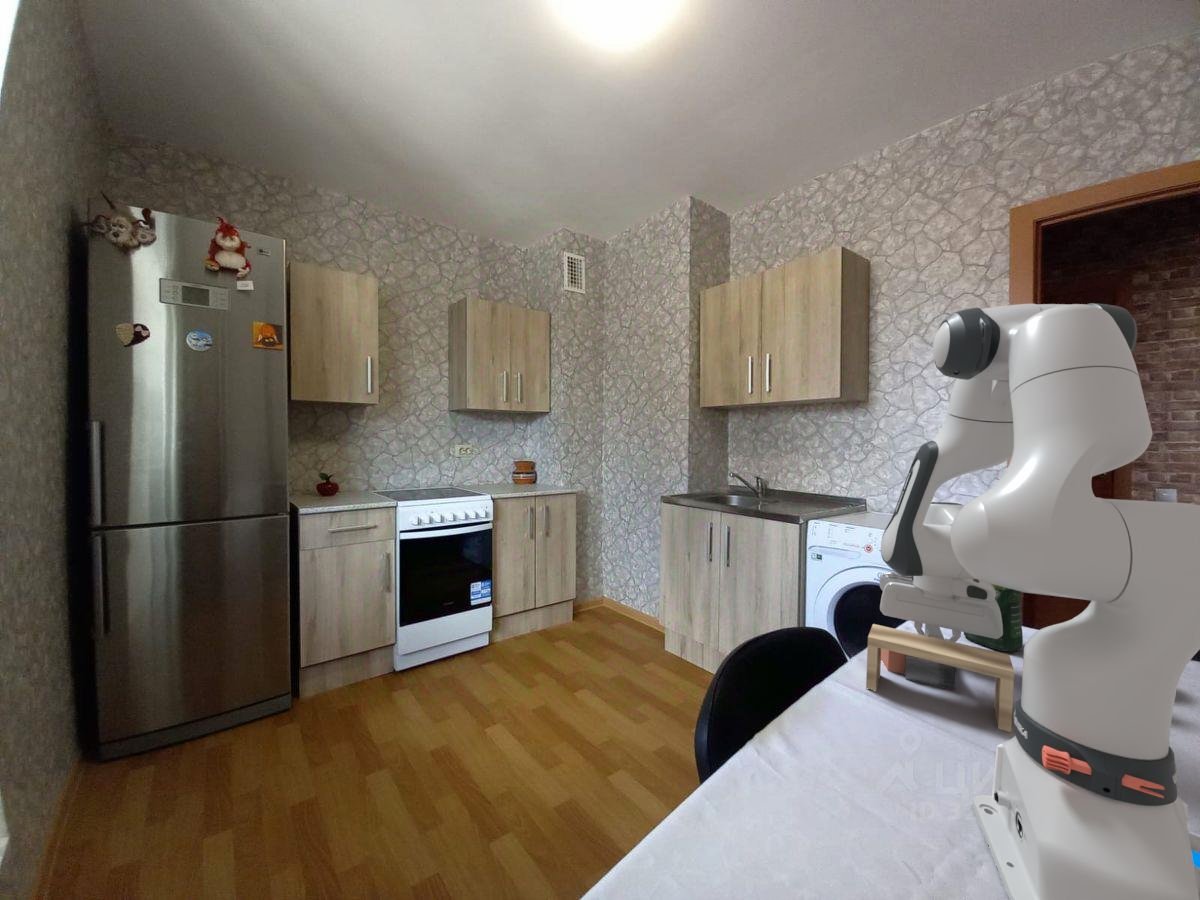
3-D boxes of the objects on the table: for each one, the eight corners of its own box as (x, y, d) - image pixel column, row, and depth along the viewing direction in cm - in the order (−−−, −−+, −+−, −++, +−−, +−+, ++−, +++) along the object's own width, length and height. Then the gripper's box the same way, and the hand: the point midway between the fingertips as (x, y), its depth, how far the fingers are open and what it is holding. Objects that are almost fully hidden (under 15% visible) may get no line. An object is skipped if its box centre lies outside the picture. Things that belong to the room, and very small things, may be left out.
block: (918, 675, 88) (919, 650, 88) (887, 671, 89) (889, 646, 89) (908, 663, 93) (909, 638, 92) (880, 659, 94) (881, 635, 94)
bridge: (1011, 732, 71) (1014, 672, 71) (866, 688, 83) (868, 636, 82) (1006, 710, 77) (1009, 654, 76) (871, 672, 89) (873, 623, 88)
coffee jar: (1029, 649, 99) (1033, 563, 98) (1007, 656, 96) (1012, 567, 95) (977, 631, 108) (981, 552, 107) (956, 637, 105) (960, 555, 104)
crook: (954, 690, 83) (955, 668, 83) (905, 679, 86) (906, 658, 86) (937, 643, 101) (938, 625, 101) (897, 635, 105) (898, 618, 105)
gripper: (878, 573, 98) (876, 637, 99) (1005, 595, 86) (1002, 668, 87) (881, 567, 104) (879, 627, 104) (1002, 586, 91) (999, 655, 92)
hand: (936, 646), depth 95 cm, fingers closed on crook, 3 cm apart
